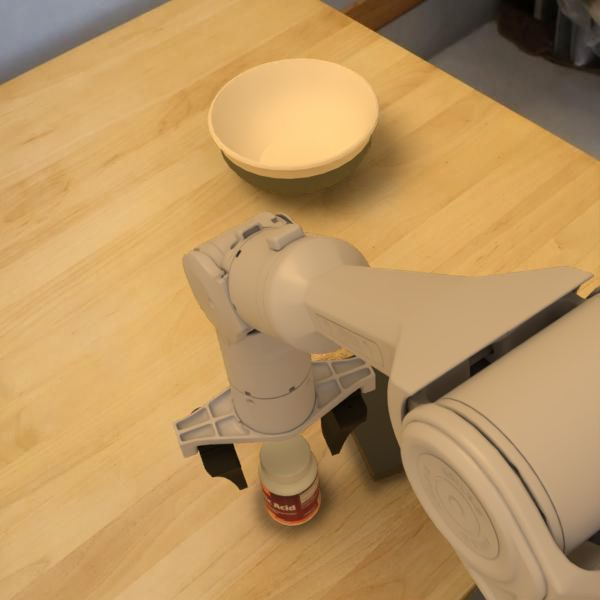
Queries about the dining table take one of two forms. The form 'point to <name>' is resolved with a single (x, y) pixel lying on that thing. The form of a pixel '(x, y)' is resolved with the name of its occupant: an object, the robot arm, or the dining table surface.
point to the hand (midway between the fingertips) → (286, 461)
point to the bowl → (294, 124)
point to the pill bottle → (289, 480)
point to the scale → (378, 432)
